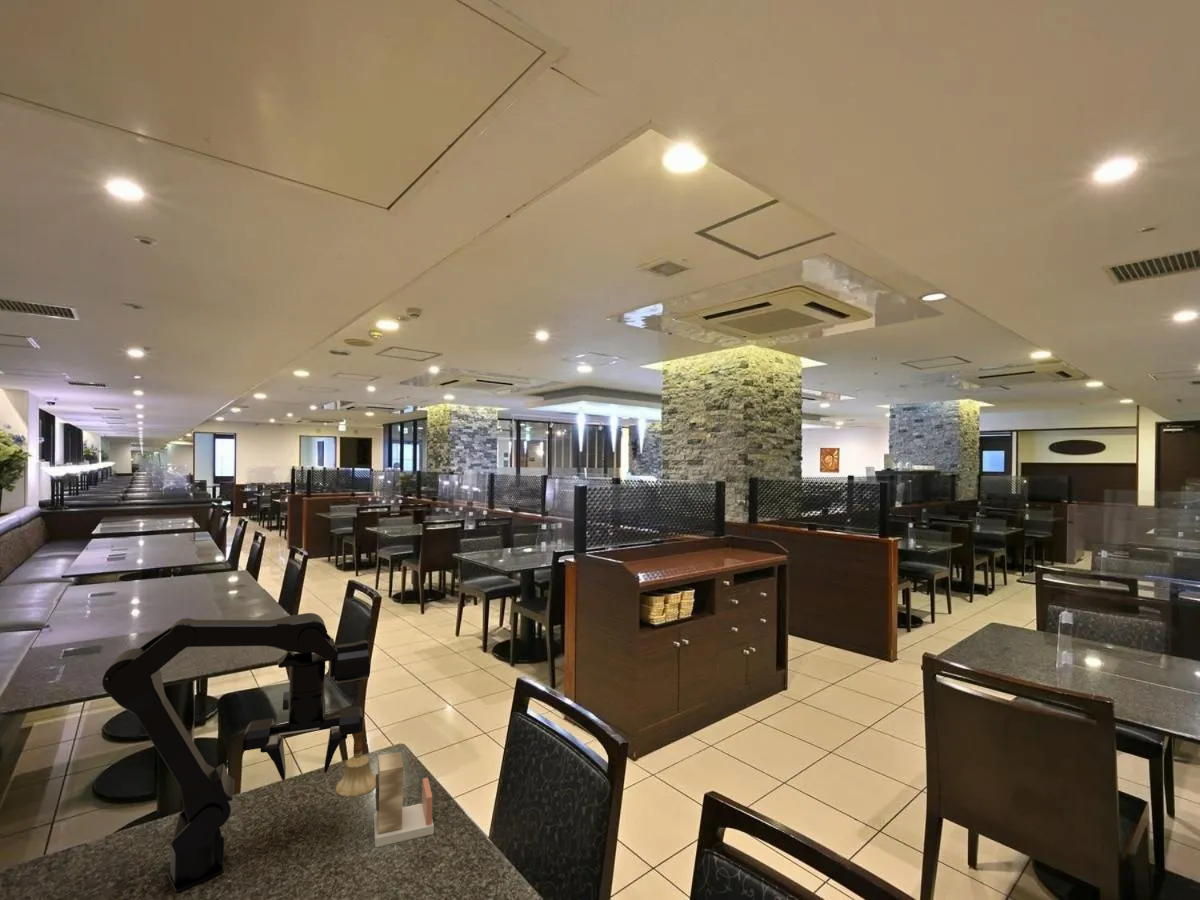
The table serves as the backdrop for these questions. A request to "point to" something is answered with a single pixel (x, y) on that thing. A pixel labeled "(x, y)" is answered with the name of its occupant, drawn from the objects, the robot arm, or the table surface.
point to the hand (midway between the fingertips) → (305, 775)
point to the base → (410, 821)
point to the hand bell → (357, 772)
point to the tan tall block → (389, 792)
